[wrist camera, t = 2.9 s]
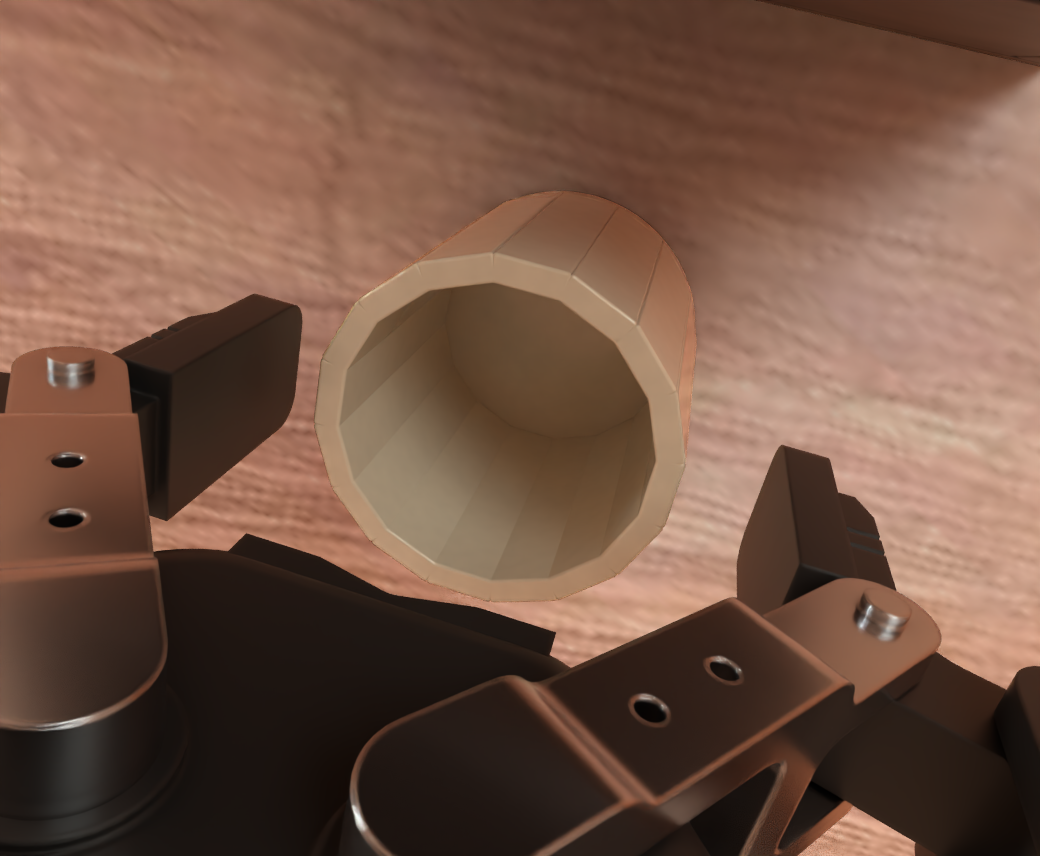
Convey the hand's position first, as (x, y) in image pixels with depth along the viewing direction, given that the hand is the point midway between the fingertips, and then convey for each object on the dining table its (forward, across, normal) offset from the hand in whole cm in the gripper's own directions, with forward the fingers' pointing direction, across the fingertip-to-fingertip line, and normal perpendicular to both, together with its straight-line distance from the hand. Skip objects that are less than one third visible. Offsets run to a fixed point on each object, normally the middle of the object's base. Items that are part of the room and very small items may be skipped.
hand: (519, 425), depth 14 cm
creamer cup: (+6, 0, 0) cm, 6 cm away
